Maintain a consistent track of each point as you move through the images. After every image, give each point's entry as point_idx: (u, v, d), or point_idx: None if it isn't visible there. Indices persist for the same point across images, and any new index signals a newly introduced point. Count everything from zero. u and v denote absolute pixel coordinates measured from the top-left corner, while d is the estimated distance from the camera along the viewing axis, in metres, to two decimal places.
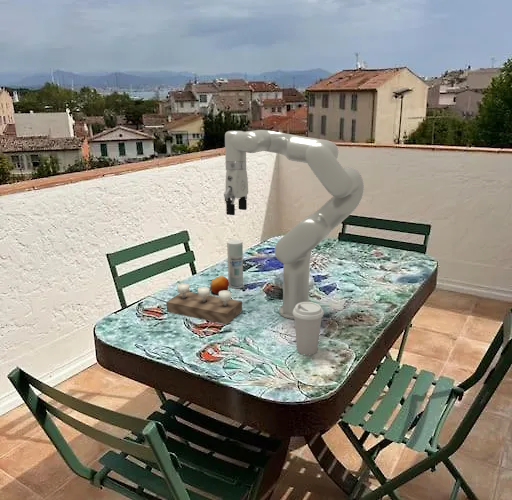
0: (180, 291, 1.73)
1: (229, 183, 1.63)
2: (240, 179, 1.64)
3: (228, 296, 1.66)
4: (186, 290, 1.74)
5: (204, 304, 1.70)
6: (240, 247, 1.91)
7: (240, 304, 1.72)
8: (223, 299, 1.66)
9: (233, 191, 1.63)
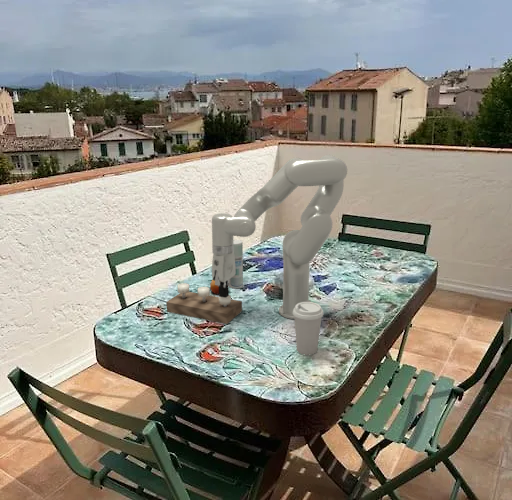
0: (180, 291, 1.73)
1: (216, 267, 1.60)
2: (227, 263, 1.61)
3: (228, 300, 1.67)
4: (186, 290, 1.74)
5: (204, 304, 1.70)
6: (240, 247, 1.91)
7: (240, 304, 1.72)
8: (223, 303, 1.66)
9: (219, 275, 1.60)
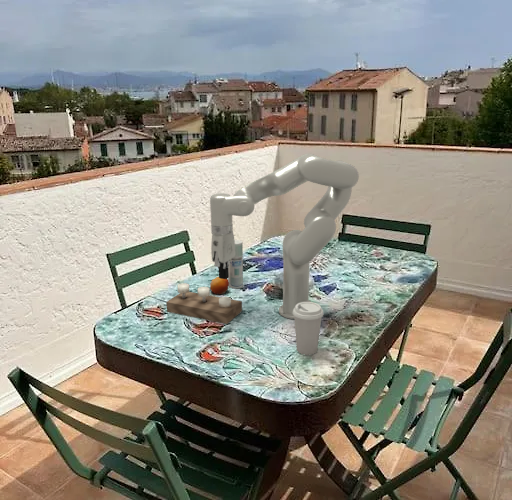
0: (180, 291, 1.73)
1: (215, 248, 1.58)
2: (226, 243, 1.59)
3: (228, 303, 1.67)
4: (186, 290, 1.74)
5: (204, 304, 1.70)
6: (240, 247, 1.91)
7: (240, 304, 1.72)
8: (223, 306, 1.67)
9: (219, 256, 1.58)
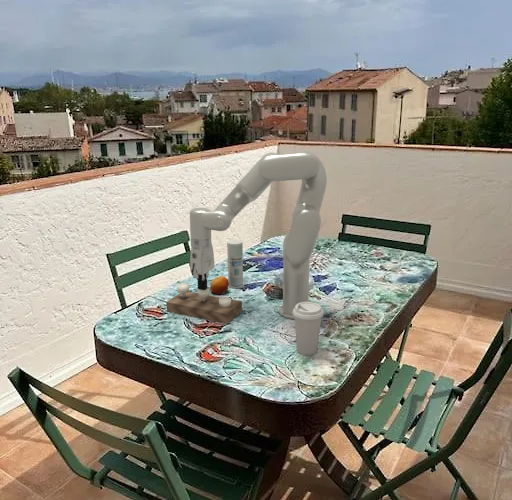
0: (180, 291, 1.73)
1: (194, 260, 1.63)
2: (204, 256, 1.64)
3: (228, 303, 1.67)
4: (186, 290, 1.74)
5: (204, 304, 1.70)
6: (240, 247, 1.91)
7: (240, 304, 1.72)
8: (223, 306, 1.67)
9: (197, 268, 1.63)
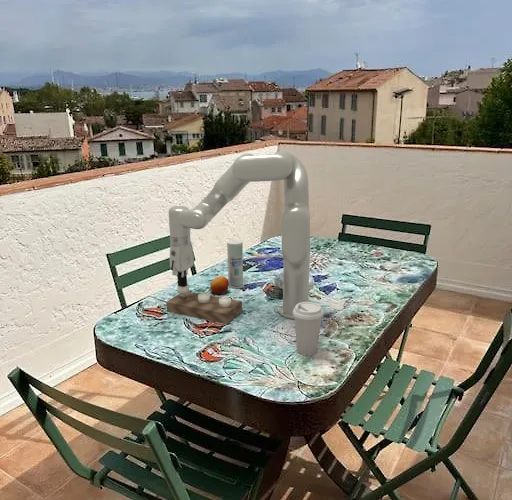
0: (180, 292, 1.73)
1: (173, 258, 1.67)
2: (183, 253, 1.68)
3: (228, 303, 1.67)
4: (186, 291, 1.74)
5: (204, 304, 1.70)
6: (240, 247, 1.91)
7: (240, 304, 1.72)
8: (223, 306, 1.67)
9: (176, 265, 1.67)
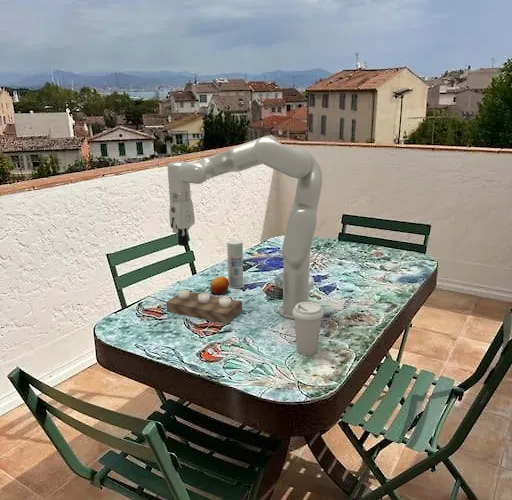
0: (180, 297, 1.74)
1: (173, 214, 1.62)
2: (184, 210, 1.63)
3: (228, 303, 1.67)
4: (186, 296, 1.74)
5: (204, 304, 1.70)
6: (240, 247, 1.91)
7: (240, 304, 1.72)
8: (223, 306, 1.67)
9: (177, 222, 1.62)
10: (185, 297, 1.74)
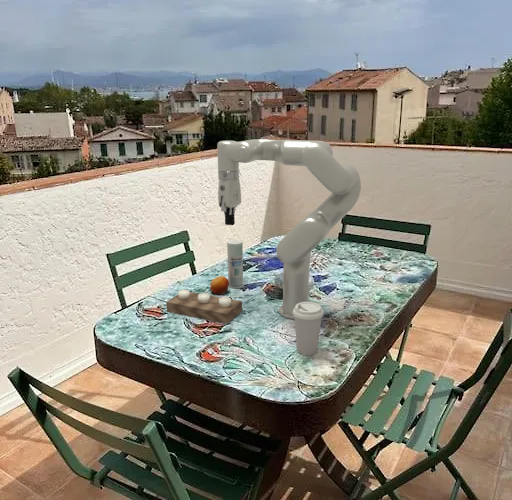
0: (180, 297, 1.74)
1: (222, 193, 1.63)
2: (232, 189, 1.64)
3: (228, 303, 1.67)
4: (186, 296, 1.74)
5: (204, 304, 1.70)
6: (240, 247, 1.91)
7: (240, 304, 1.72)
8: (223, 306, 1.67)
9: (226, 201, 1.63)
10: (185, 297, 1.74)
